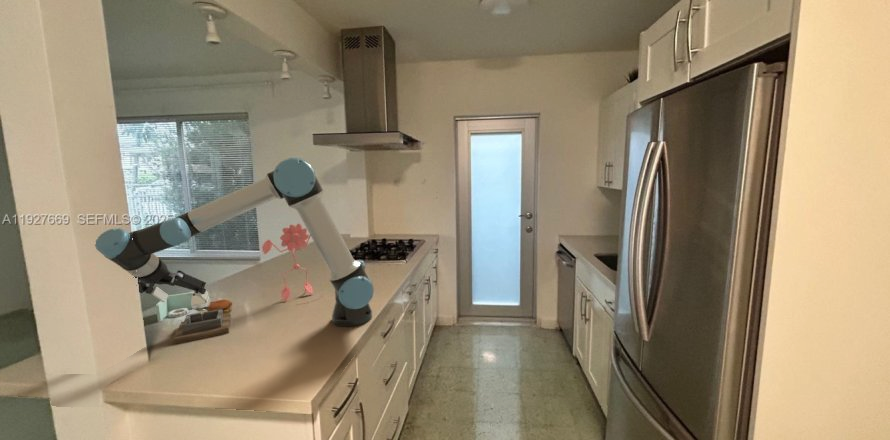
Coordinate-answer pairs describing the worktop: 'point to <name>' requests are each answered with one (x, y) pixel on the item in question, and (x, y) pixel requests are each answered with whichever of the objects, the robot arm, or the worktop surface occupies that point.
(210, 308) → the burger
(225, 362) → the worktop surface
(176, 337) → the socket base
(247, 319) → the worktop surface
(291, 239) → the figurine
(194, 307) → the wineglass
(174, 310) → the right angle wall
